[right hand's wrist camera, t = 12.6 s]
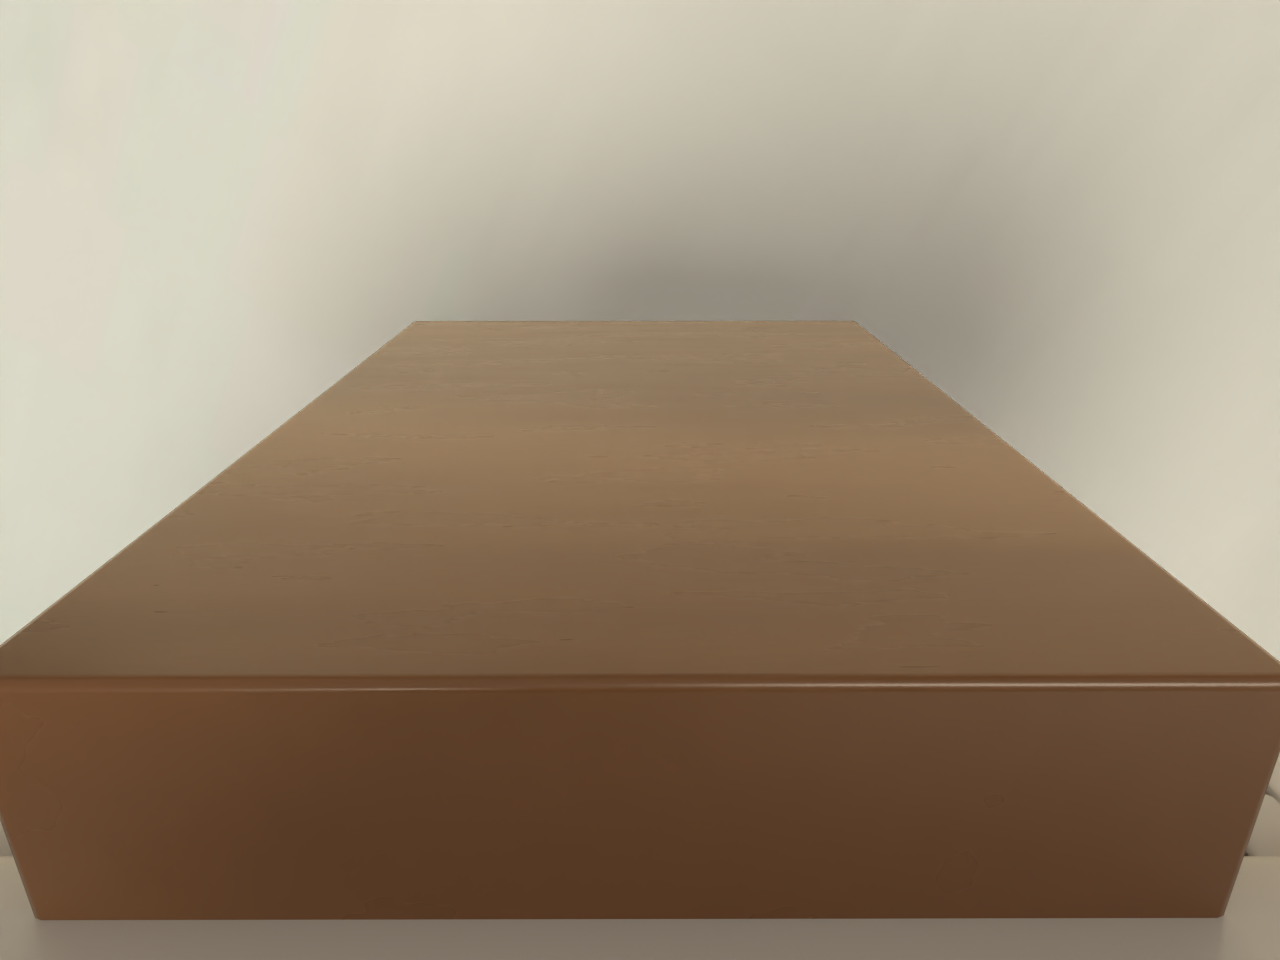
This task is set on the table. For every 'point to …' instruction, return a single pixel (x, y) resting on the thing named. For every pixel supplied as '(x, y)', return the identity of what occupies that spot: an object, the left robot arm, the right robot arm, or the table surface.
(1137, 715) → the box
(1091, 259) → the table surface
